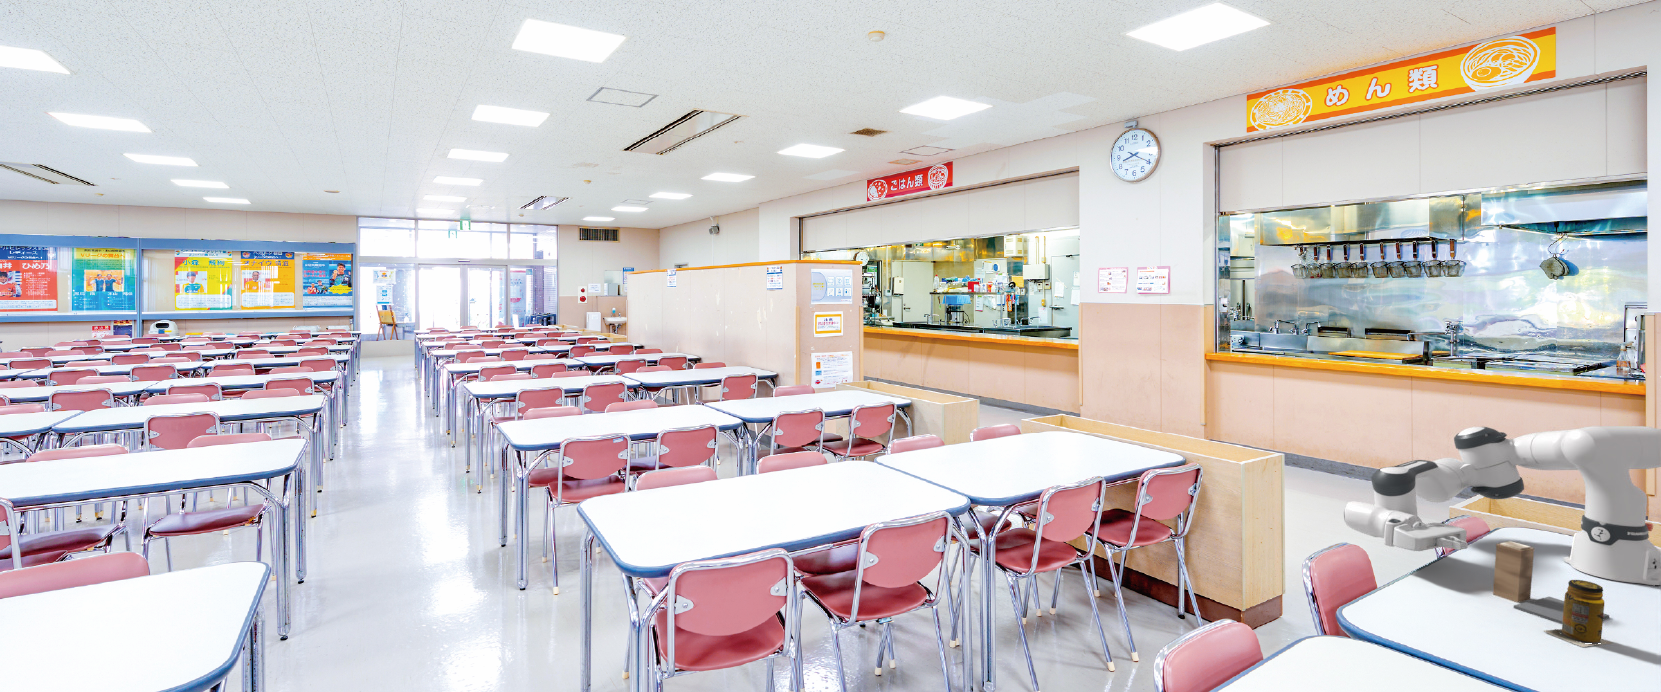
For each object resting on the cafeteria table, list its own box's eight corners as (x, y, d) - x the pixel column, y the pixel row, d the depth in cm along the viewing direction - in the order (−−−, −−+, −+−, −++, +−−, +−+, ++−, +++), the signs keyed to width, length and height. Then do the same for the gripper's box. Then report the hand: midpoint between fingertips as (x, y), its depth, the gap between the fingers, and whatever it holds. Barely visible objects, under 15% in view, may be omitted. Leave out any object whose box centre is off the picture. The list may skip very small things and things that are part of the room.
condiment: (1612, 643, 159) (1617, 588, 158) (1582, 647, 158) (1587, 592, 157) (1571, 628, 167) (1576, 575, 166) (1542, 632, 165) (1547, 579, 164)
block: (1505, 591, 186) (1509, 540, 185) (1530, 599, 182) (1534, 546, 181) (1492, 594, 184) (1496, 542, 183) (1517, 602, 180) (1521, 549, 179)
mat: (1549, 598, 182) (1549, 596, 182) (1609, 617, 172) (1609, 615, 171) (1513, 607, 177) (1513, 605, 177) (1573, 627, 167) (1573, 625, 167)
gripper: (1430, 536, 209) (1488, 553, 196) (1380, 545, 201) (1437, 563, 188) (1431, 514, 208) (1490, 529, 195) (1381, 522, 201) (1439, 539, 188)
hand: (1464, 546), depth 192 cm, fingers closed
